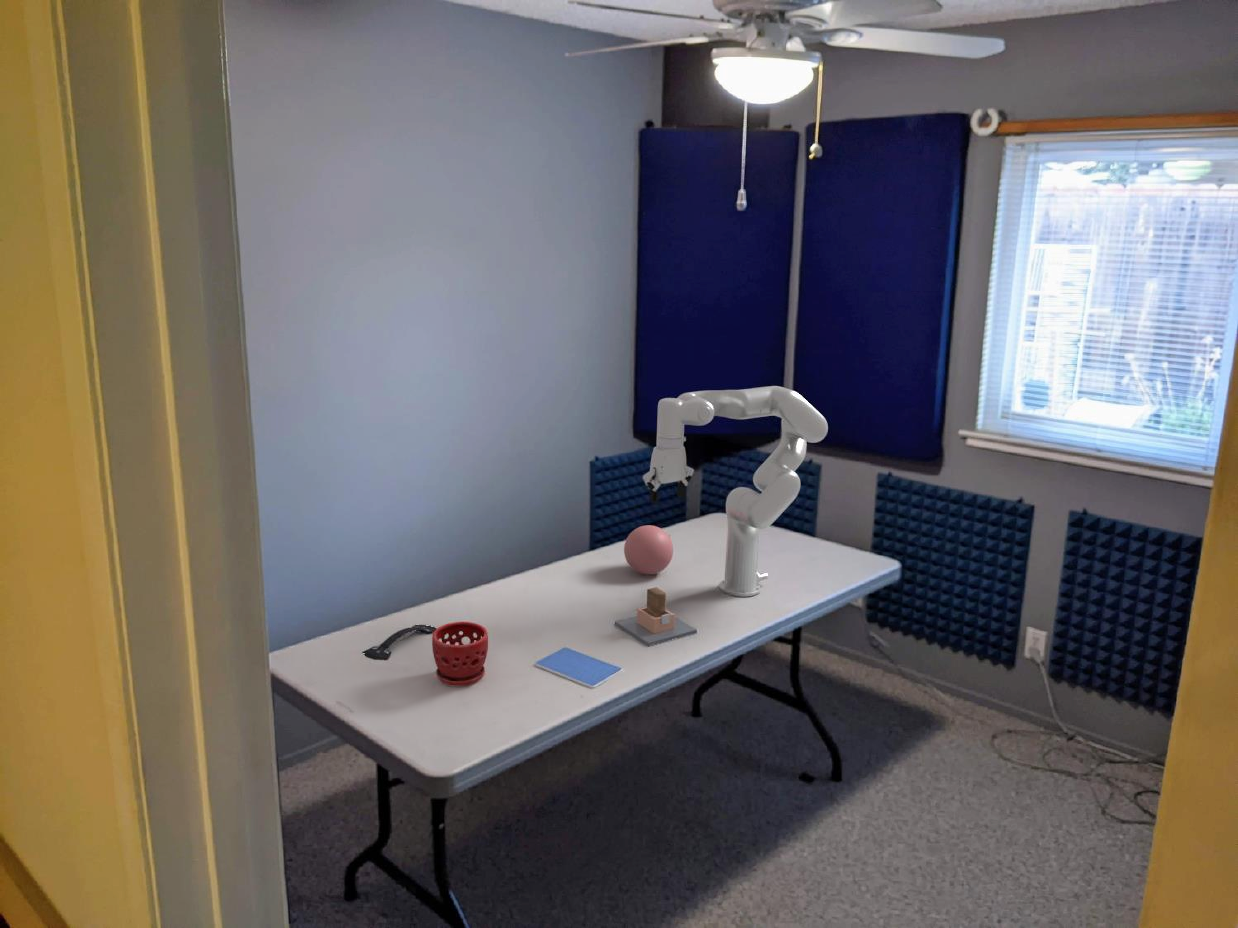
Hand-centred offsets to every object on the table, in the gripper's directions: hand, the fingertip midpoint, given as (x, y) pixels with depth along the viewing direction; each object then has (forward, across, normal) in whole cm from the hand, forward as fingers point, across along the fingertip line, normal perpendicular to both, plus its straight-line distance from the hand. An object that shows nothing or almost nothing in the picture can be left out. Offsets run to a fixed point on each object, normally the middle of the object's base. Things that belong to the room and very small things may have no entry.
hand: (667, 500), depth 270 cm
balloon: (+31, -11, -21) cm, 39 cm away
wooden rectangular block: (+29, +14, +15) cm, 36 cm away
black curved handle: (+31, +76, -12) cm, 83 cm away
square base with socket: (+30, +14, +15) cm, 37 cm away
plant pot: (+31, +71, +14) cm, 79 cm away
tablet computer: (+31, +44, +24) cm, 59 cm away
